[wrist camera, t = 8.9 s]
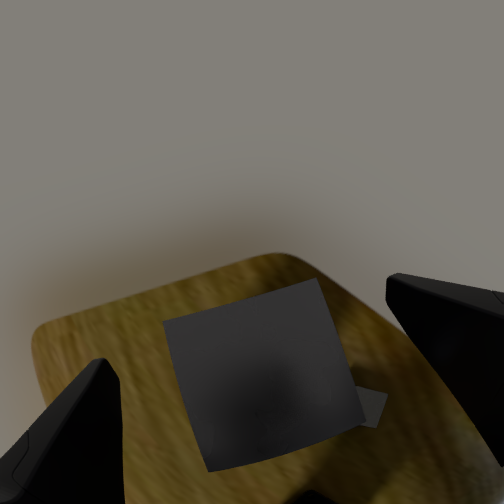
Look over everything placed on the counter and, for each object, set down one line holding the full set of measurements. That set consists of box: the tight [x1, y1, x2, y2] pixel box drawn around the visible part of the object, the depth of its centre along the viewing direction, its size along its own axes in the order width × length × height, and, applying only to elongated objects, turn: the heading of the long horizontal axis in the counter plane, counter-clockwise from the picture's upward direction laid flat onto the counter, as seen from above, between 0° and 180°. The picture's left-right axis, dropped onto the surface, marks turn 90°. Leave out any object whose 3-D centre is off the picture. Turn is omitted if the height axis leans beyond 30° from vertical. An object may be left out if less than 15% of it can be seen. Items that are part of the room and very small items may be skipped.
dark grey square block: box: [163, 278, 366, 472], centre depth 13 cm, size 5×5×11 cm
